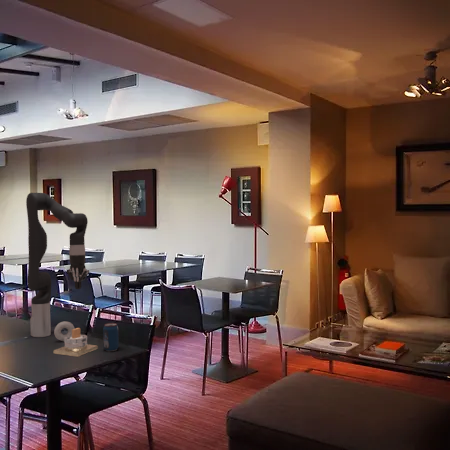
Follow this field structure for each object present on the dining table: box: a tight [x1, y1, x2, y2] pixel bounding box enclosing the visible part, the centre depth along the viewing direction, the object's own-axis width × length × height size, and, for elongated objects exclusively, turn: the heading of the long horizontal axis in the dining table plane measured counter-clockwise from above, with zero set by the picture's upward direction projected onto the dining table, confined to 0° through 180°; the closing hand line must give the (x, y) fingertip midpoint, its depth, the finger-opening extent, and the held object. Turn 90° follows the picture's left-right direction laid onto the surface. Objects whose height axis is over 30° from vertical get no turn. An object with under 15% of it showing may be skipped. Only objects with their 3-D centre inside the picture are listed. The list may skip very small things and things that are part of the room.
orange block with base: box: [70, 327, 83, 339], centre depth 238 cm, size 6×6×6 cm
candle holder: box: [53, 334, 99, 358], centre depth 238 cm, size 14×14×6 cm
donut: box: [53, 321, 76, 342], centre depth 257 cm, size 10×4×10 cm, turn 113°
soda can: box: [102, 322, 120, 352], centre depth 240 cm, size 7×7×12 cm
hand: (78, 288), depth 252 cm, fingers closed
